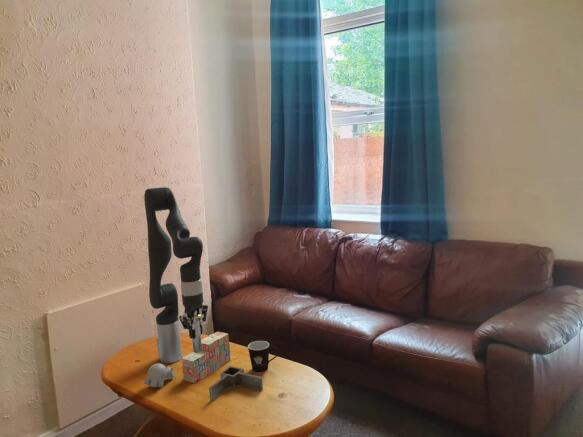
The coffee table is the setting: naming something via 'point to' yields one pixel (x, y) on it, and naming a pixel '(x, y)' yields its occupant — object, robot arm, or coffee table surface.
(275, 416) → the coffee table surface
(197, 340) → the hinge pin
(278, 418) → the coffee table surface
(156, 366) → the chubby cartoon animal
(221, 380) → the hinge leaves
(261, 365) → the coffee mug
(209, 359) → the stack of blocks
